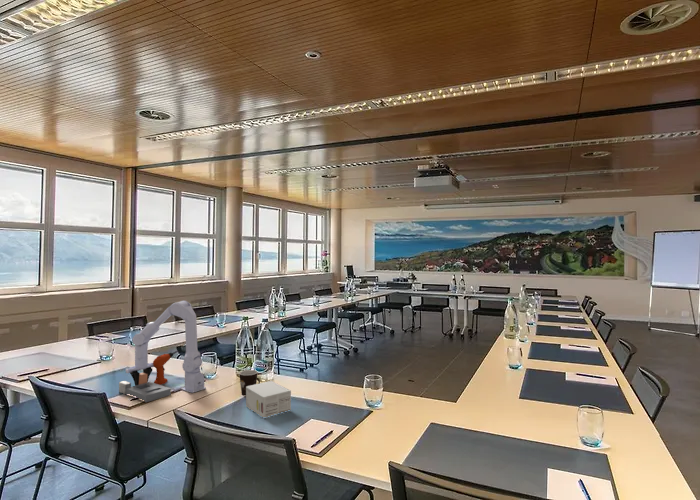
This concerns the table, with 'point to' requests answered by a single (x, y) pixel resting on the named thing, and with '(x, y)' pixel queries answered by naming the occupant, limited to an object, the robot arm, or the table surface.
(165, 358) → the toy drill
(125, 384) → the light gray block
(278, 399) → the supplement box
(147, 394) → the socket board
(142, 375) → the square peg
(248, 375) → the coffee mug
